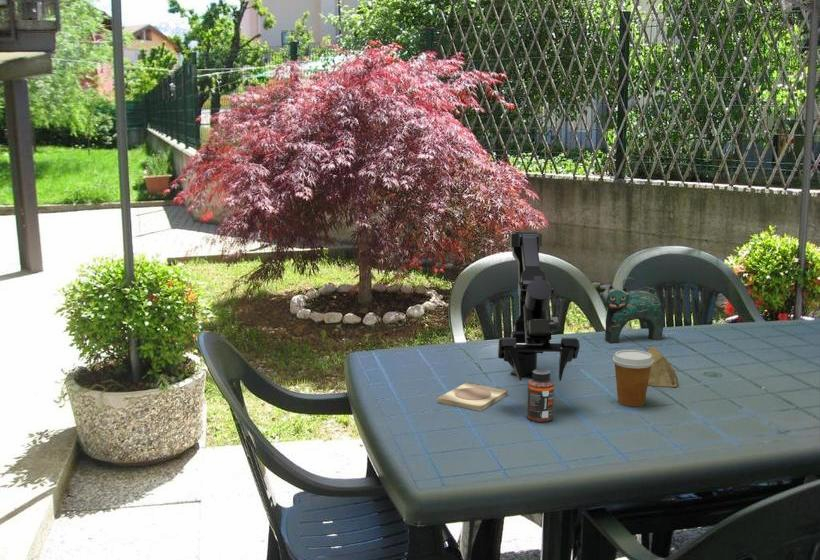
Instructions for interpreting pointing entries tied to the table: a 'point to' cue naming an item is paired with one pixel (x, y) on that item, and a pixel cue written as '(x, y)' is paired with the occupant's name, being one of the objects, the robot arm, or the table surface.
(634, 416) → the table surface
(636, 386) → the disposable coffee cup
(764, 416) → the table surface
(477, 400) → the board
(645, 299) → the ceramic cat
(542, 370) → the supplement bottle
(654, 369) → the rock
